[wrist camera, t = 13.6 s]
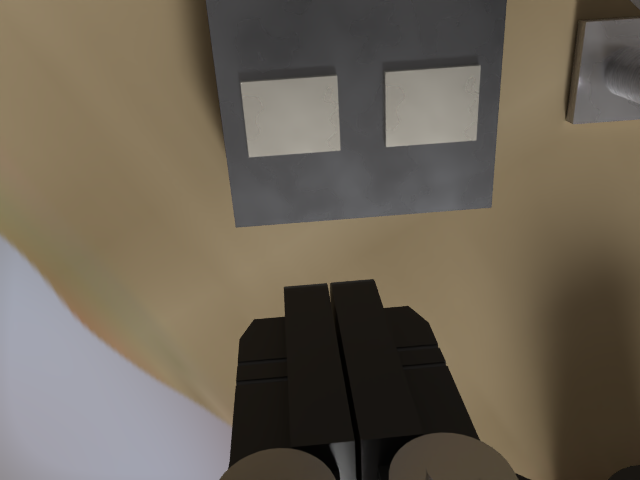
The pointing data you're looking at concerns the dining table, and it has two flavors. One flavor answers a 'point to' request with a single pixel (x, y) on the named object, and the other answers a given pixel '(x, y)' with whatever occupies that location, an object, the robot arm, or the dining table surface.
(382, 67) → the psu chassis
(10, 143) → the dining table surface
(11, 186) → the dining table surface
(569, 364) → the dining table surface
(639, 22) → the hinge post
